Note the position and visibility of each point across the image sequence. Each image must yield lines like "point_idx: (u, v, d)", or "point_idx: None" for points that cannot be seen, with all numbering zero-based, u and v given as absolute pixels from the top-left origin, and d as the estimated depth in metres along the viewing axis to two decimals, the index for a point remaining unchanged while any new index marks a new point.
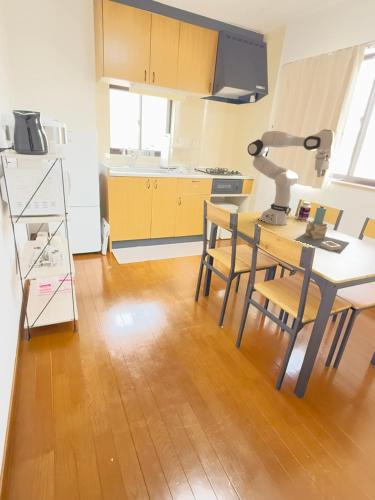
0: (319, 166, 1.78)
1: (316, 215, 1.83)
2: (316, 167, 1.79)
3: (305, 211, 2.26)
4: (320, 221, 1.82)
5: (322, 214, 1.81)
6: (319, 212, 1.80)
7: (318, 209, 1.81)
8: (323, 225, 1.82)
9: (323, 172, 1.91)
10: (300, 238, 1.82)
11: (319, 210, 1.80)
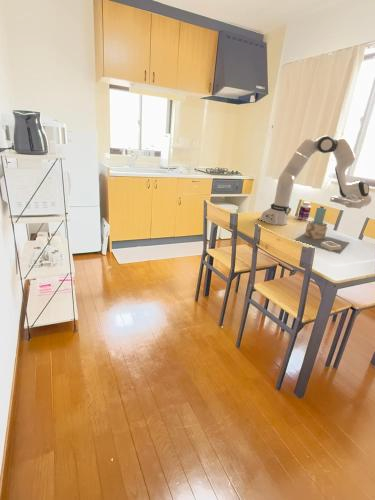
0: (357, 206, 1.78)
1: (316, 215, 1.83)
2: (357, 203, 1.77)
3: (305, 211, 2.26)
4: (320, 221, 1.82)
5: (322, 214, 1.81)
6: (319, 212, 1.80)
7: (318, 209, 1.81)
8: (323, 225, 1.82)
9: None
10: (300, 238, 1.82)
11: (319, 210, 1.80)
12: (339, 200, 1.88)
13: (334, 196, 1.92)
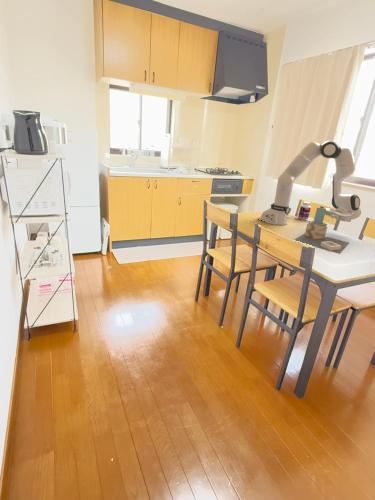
0: (346, 219, 1.80)
1: (316, 215, 1.83)
2: (346, 217, 1.79)
3: (305, 211, 2.26)
4: (320, 221, 1.82)
5: (322, 214, 1.81)
6: (319, 212, 1.80)
7: (318, 209, 1.81)
8: (323, 225, 1.82)
9: None
10: (300, 238, 1.82)
11: (319, 210, 1.80)
12: (329, 213, 1.89)
13: None
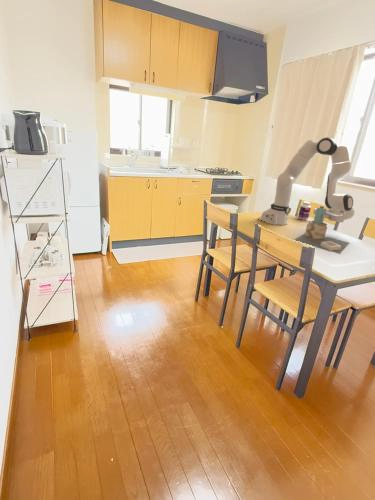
0: (338, 220, 1.77)
1: (316, 215, 1.83)
2: (338, 217, 1.76)
3: (305, 211, 2.26)
4: (320, 221, 1.82)
5: (322, 214, 1.81)
6: (319, 212, 1.81)
7: (318, 209, 1.81)
8: (323, 225, 1.82)
9: None
10: (300, 238, 1.82)
11: (319, 210, 1.80)
12: None
13: None
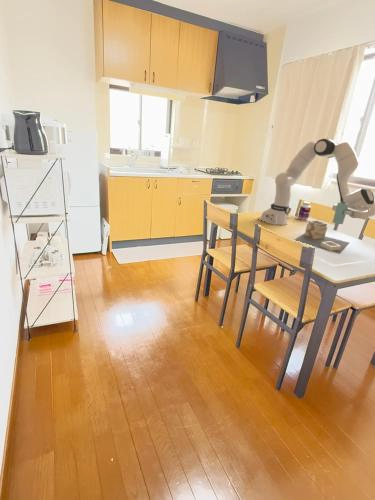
0: (363, 217, 1.55)
1: (337, 211, 1.61)
2: (363, 214, 1.54)
3: (305, 211, 2.26)
4: (341, 218, 1.60)
5: None
6: (340, 208, 1.59)
7: (338, 205, 1.59)
8: (323, 225, 1.82)
9: None
10: (300, 238, 1.82)
11: (341, 206, 1.58)
12: None
13: None
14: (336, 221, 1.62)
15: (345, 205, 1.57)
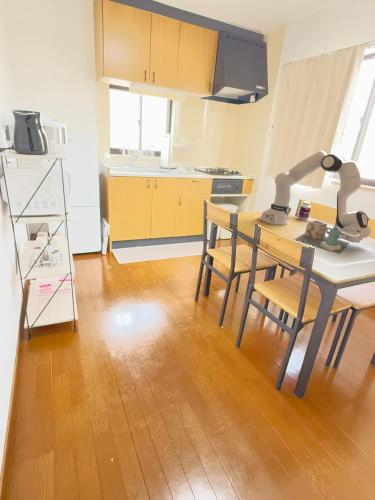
0: (355, 240, 1.60)
1: (329, 237, 1.67)
2: (355, 238, 1.59)
3: (305, 211, 2.26)
4: (333, 243, 1.66)
5: (336, 236, 1.65)
6: (332, 234, 1.65)
7: (331, 231, 1.66)
8: (323, 225, 1.82)
9: (329, 231, 1.71)
10: (300, 238, 1.82)
11: (333, 232, 1.64)
12: None
13: (330, 227, 1.74)
14: None
15: (337, 231, 1.63)
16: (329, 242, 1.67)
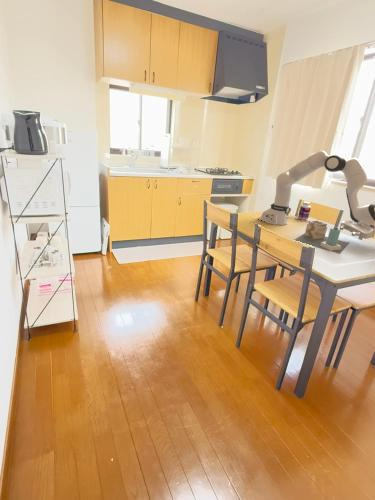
0: (368, 237, 1.66)
1: (329, 237, 1.67)
2: (368, 234, 1.65)
3: (305, 211, 2.26)
4: (333, 243, 1.66)
5: (336, 236, 1.65)
6: (332, 234, 1.65)
7: (331, 231, 1.65)
8: (323, 225, 1.82)
9: None
10: (300, 238, 1.82)
11: (333, 232, 1.64)
12: (350, 228, 1.76)
13: (344, 222, 1.80)
14: None
15: (337, 231, 1.63)
16: (329, 242, 1.67)
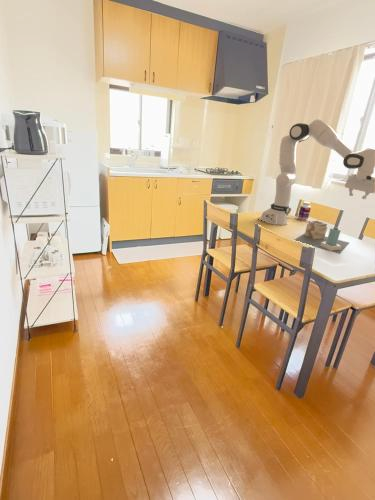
0: None
1: (329, 237, 1.67)
2: (374, 190, 1.68)
3: (305, 211, 2.26)
4: (333, 243, 1.66)
5: (336, 236, 1.65)
6: (332, 234, 1.65)
7: (331, 231, 1.65)
8: (323, 225, 1.82)
9: (351, 191, 1.83)
10: (300, 238, 1.82)
11: (333, 232, 1.64)
12: None
13: (347, 185, 1.83)
14: None
15: (337, 231, 1.63)
16: (329, 242, 1.67)
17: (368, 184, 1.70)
